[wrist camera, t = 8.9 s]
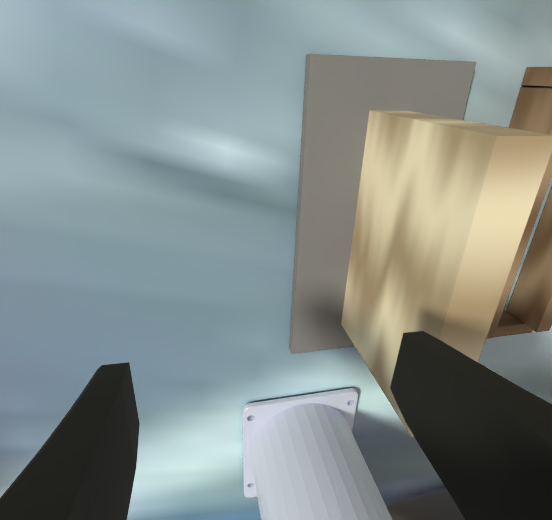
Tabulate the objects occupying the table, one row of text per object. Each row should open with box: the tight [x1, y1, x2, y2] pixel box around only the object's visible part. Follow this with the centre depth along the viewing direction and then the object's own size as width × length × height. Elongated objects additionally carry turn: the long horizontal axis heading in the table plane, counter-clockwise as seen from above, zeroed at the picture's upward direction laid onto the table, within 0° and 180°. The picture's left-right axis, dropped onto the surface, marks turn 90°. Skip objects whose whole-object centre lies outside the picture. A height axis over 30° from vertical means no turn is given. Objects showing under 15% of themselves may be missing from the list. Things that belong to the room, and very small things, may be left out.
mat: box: [289, 54, 476, 354], centre depth 20 cm, size 16×8×1 cm, turn 178°
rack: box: [486, 67, 552, 339], centre depth 21 cm, size 16×5×2 cm, turn 178°
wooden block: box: [341, 110, 552, 437], centre depth 16 cm, size 12×2×8 cm, turn 178°
